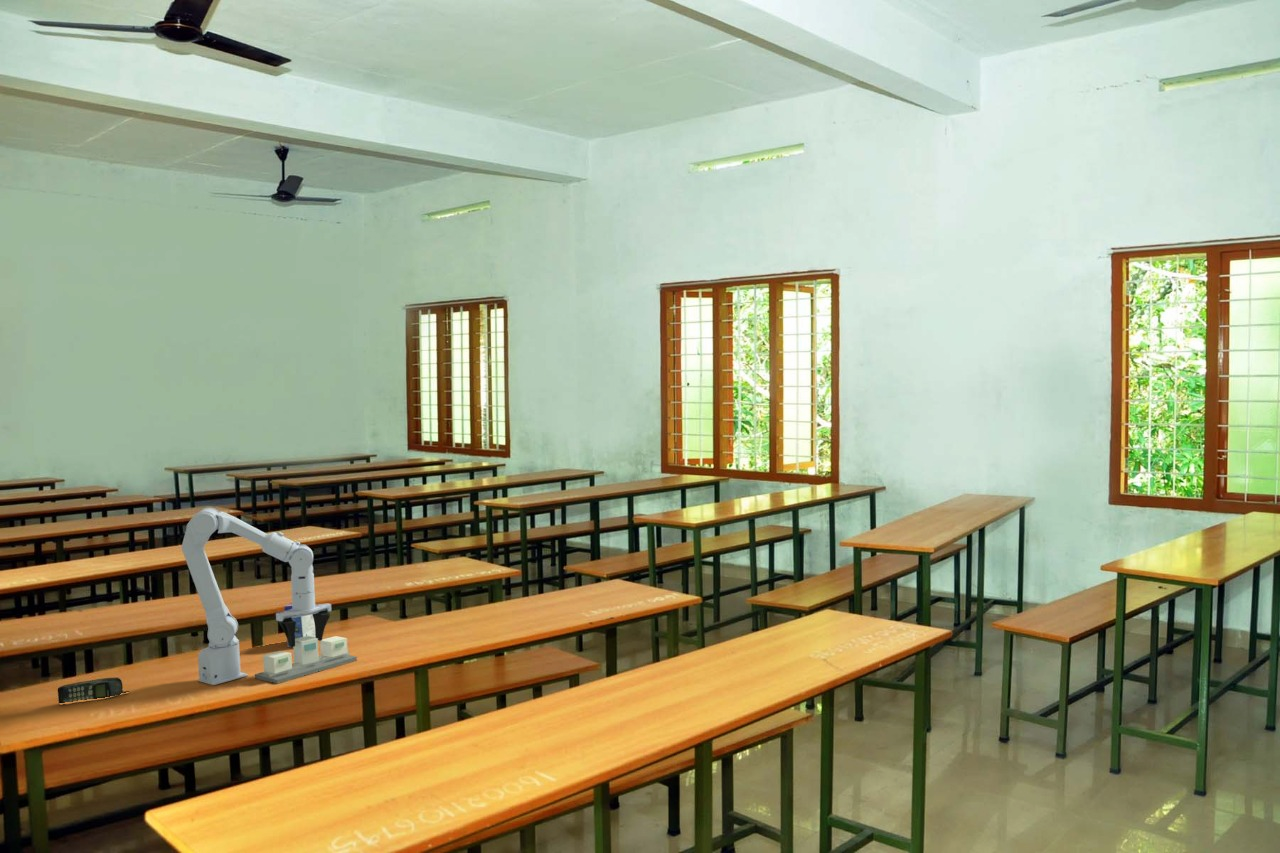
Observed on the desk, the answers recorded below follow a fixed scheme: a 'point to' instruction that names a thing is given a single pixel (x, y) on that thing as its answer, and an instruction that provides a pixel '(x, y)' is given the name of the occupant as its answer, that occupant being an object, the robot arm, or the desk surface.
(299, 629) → the ink cartridge box
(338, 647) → the mounted modules
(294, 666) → the din rail
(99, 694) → the mobile phone
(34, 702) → the desk surface
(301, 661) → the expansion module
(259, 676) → the din board
